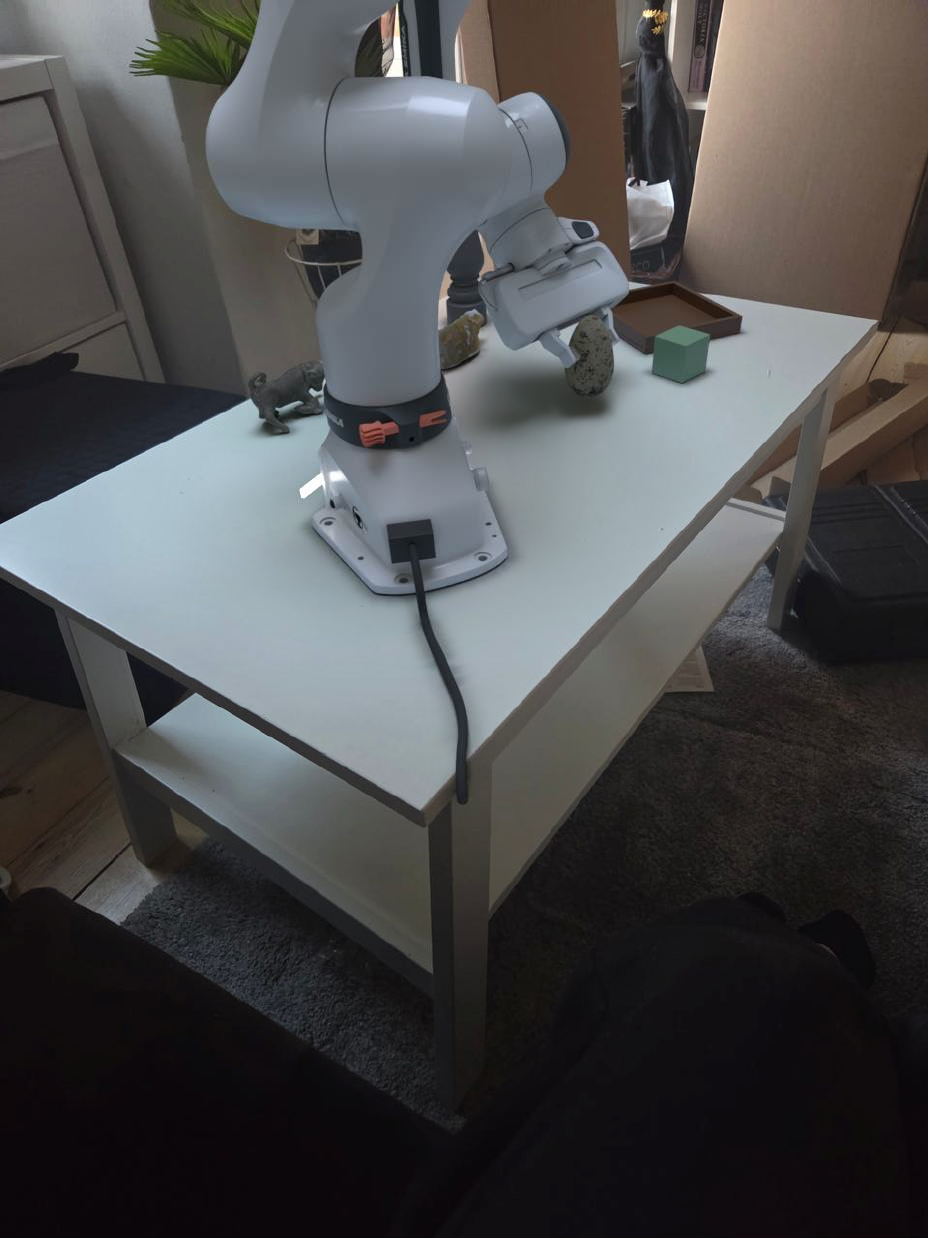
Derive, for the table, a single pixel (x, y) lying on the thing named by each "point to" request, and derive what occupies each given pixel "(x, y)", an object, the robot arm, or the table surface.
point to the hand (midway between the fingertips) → (594, 354)
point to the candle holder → (466, 280)
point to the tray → (669, 314)
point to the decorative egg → (591, 358)
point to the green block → (680, 353)
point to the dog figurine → (287, 391)
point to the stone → (459, 339)
